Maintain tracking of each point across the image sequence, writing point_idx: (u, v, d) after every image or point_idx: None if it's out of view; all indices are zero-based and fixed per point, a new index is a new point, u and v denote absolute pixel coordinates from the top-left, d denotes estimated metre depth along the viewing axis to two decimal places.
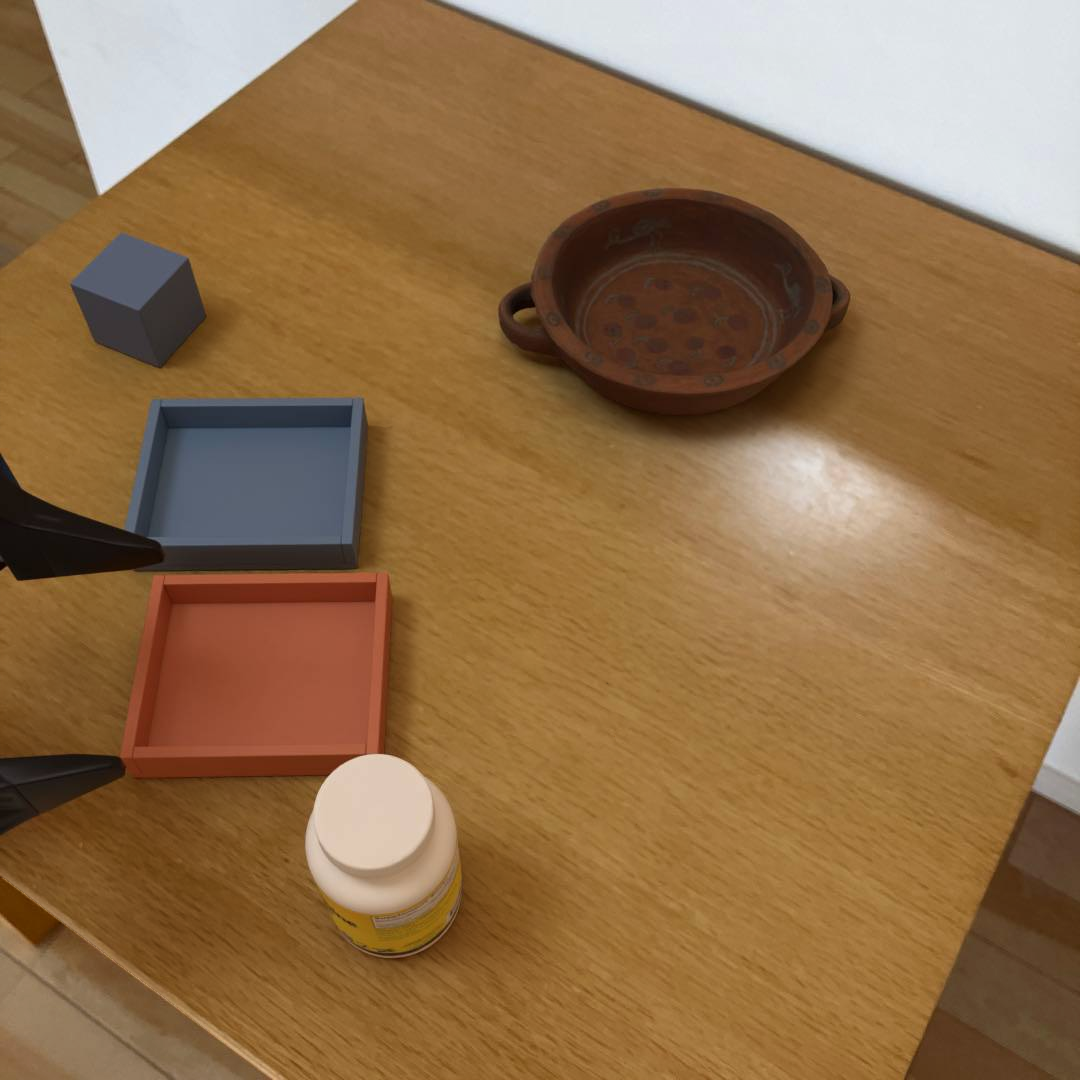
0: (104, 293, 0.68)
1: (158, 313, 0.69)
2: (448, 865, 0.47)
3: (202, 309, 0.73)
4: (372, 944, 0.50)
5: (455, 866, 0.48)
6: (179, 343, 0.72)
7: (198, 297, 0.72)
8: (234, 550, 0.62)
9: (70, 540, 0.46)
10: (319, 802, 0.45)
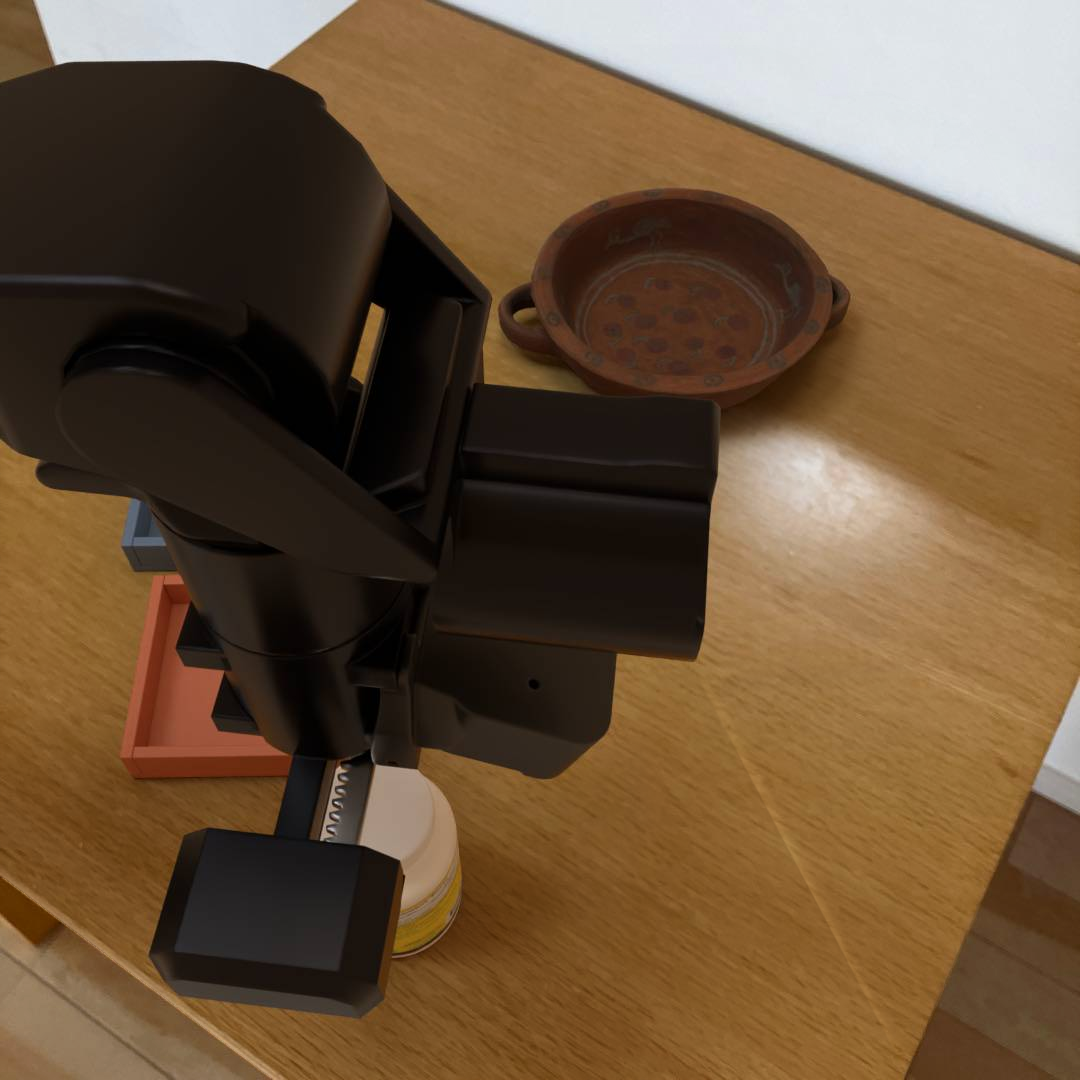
0: None
1: None
2: (448, 865, 0.47)
3: None
4: None
5: (455, 866, 0.48)
6: None
7: None
8: None
9: None
10: None
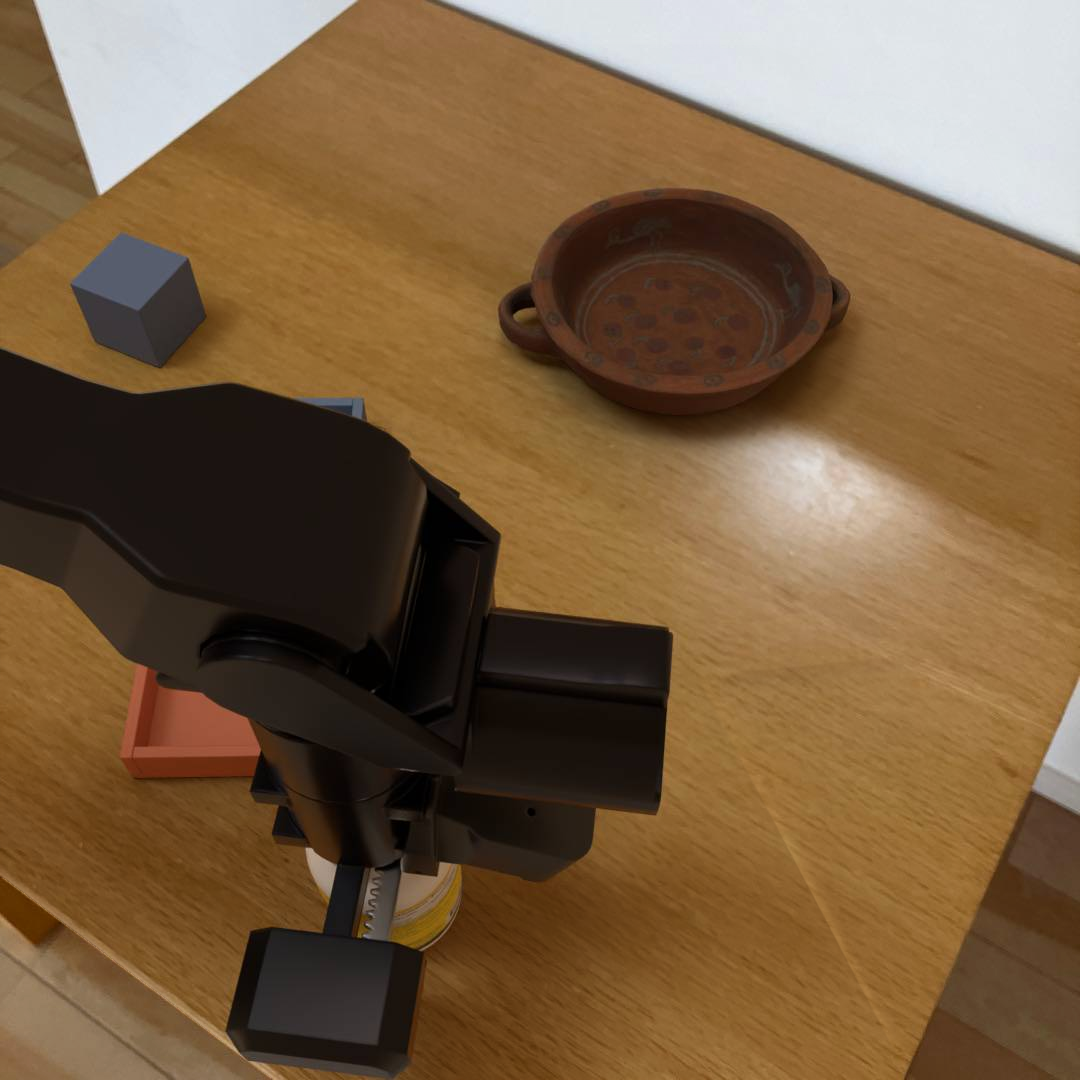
0: (104, 293, 0.68)
1: (158, 313, 0.69)
2: (448, 865, 0.47)
3: (202, 309, 0.73)
4: None
5: (455, 866, 0.48)
6: (179, 343, 0.72)
7: (198, 297, 0.72)
8: None
9: None
10: None
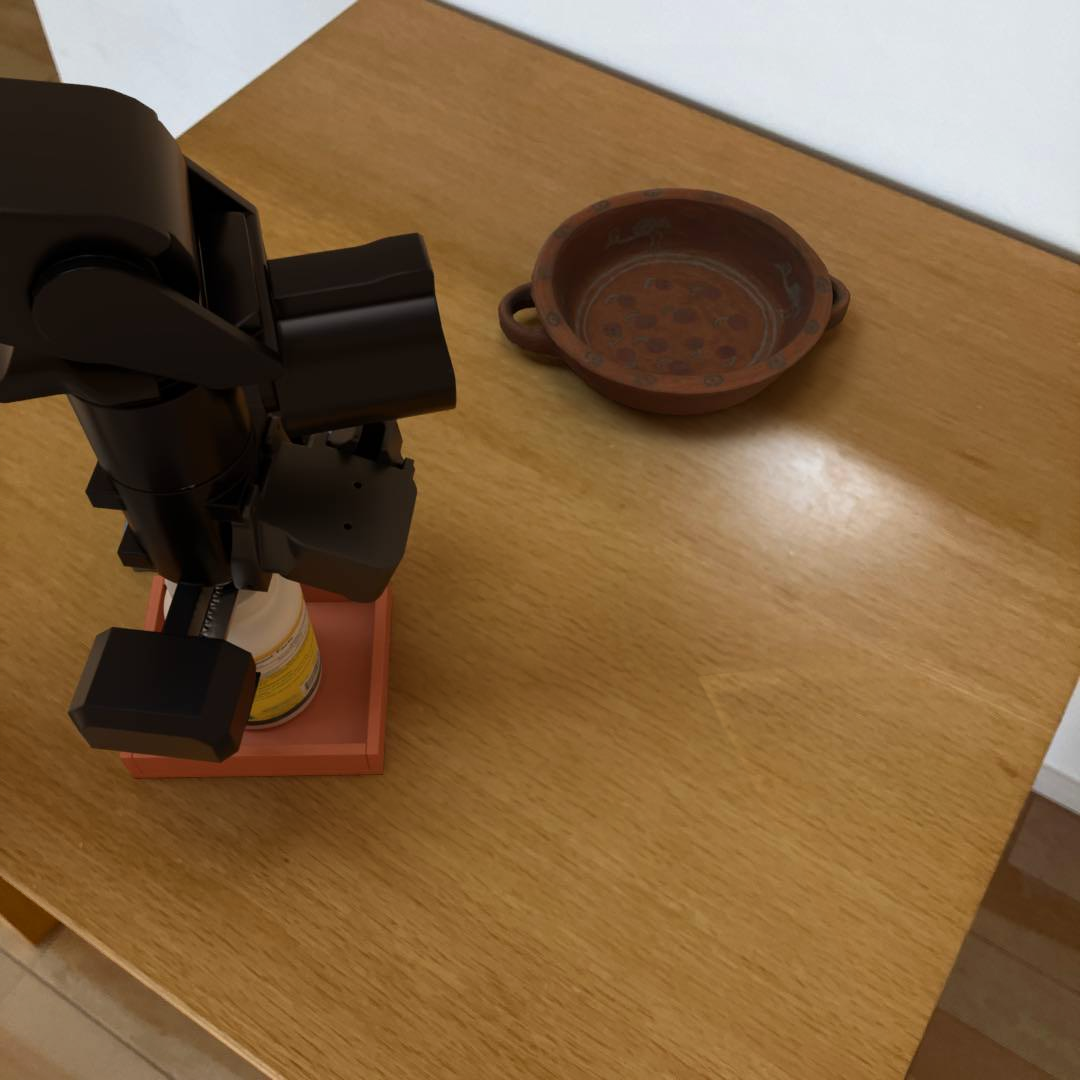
0: None
1: None
2: (291, 623, 0.52)
3: None
4: None
5: (302, 632, 0.54)
6: None
7: None
8: None
9: None
10: None
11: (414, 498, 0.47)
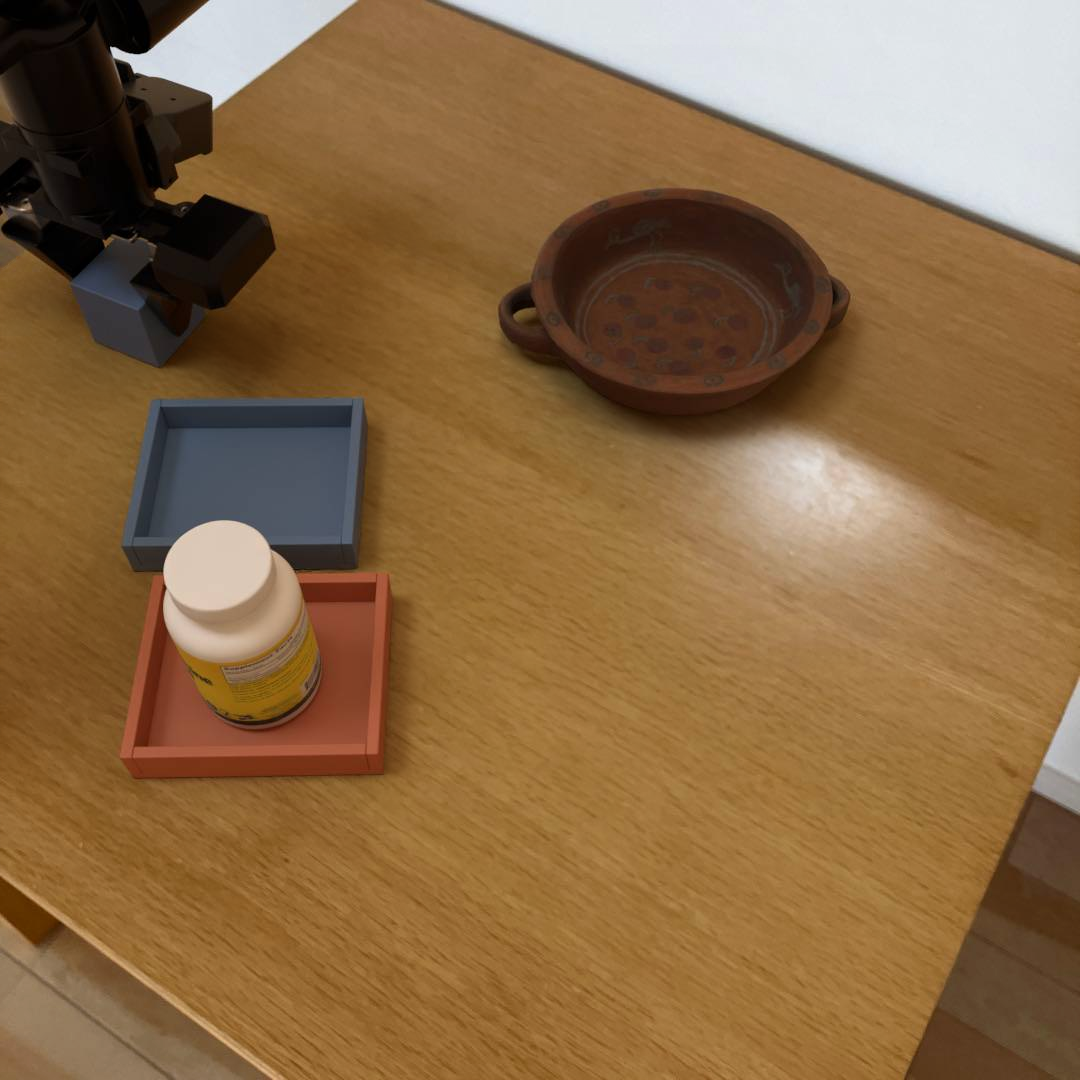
0: (104, 293, 0.68)
1: None
2: (291, 623, 0.52)
3: (202, 309, 0.73)
4: (232, 709, 0.55)
5: (302, 631, 0.54)
6: (179, 343, 0.72)
7: None
8: None
9: None
10: (169, 558, 0.50)
11: None
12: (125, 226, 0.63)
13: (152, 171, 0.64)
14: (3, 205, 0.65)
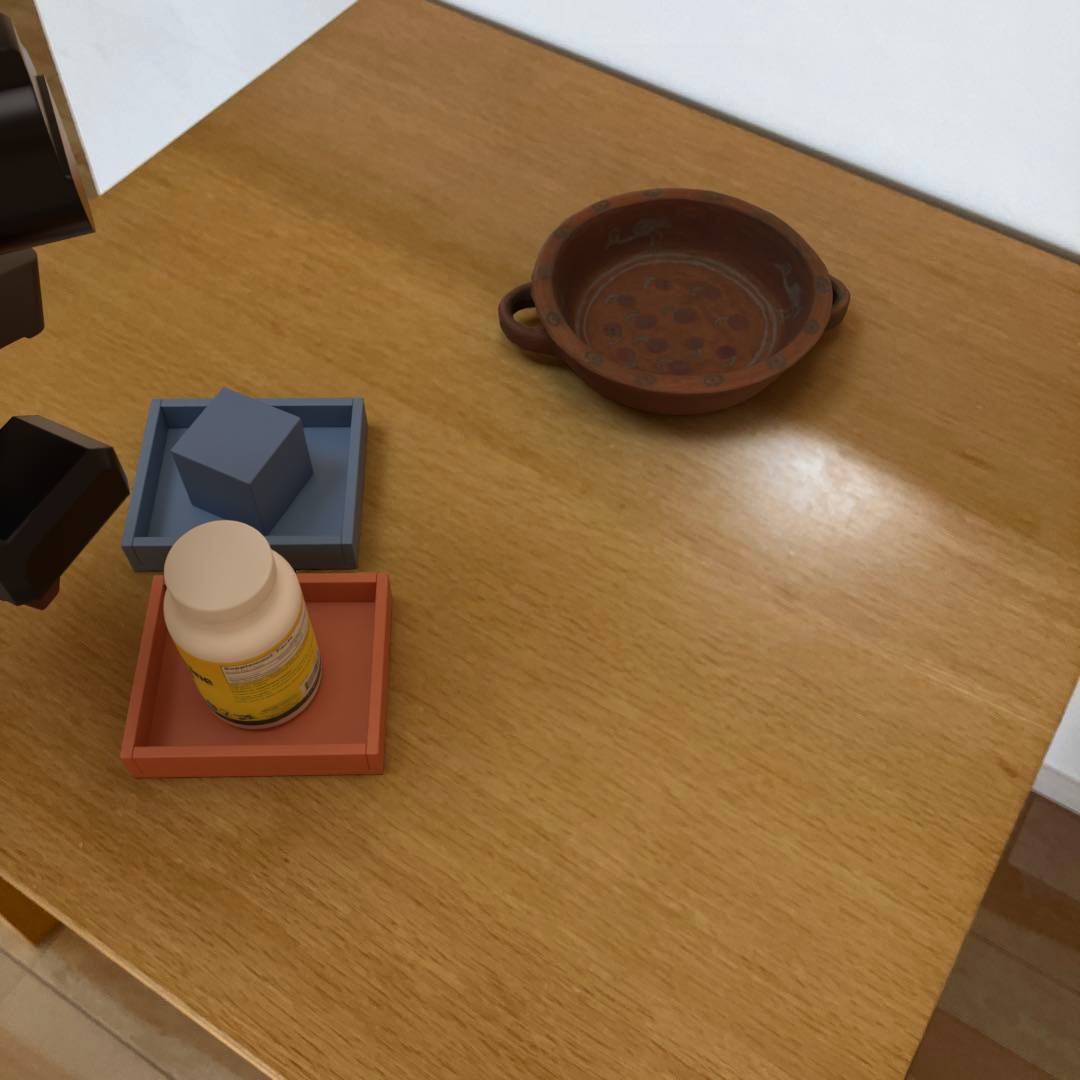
0: (210, 463, 0.61)
1: (268, 482, 0.62)
2: (291, 623, 0.52)
3: (310, 467, 0.66)
4: (232, 709, 0.55)
5: (302, 631, 0.54)
6: (286, 507, 0.65)
7: (307, 456, 0.65)
8: None
9: None
10: (170, 558, 0.50)
11: None
12: None
13: None
14: None
